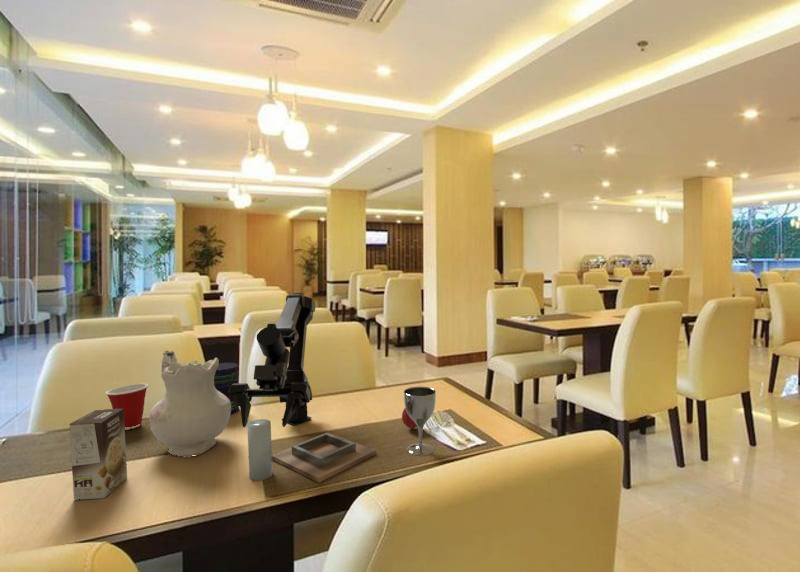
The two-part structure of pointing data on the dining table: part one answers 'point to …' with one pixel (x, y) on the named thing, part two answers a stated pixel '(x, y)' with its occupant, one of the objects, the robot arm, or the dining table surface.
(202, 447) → the ceramic pitcher
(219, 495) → the dining table surface
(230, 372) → the storage jar
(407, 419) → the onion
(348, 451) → the collar board
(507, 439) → the dining table surface
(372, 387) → the dining table surface
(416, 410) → the wine glass
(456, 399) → the dining table surface
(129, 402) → the plastic cup
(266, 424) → the ceramic canister
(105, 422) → the coffee box
